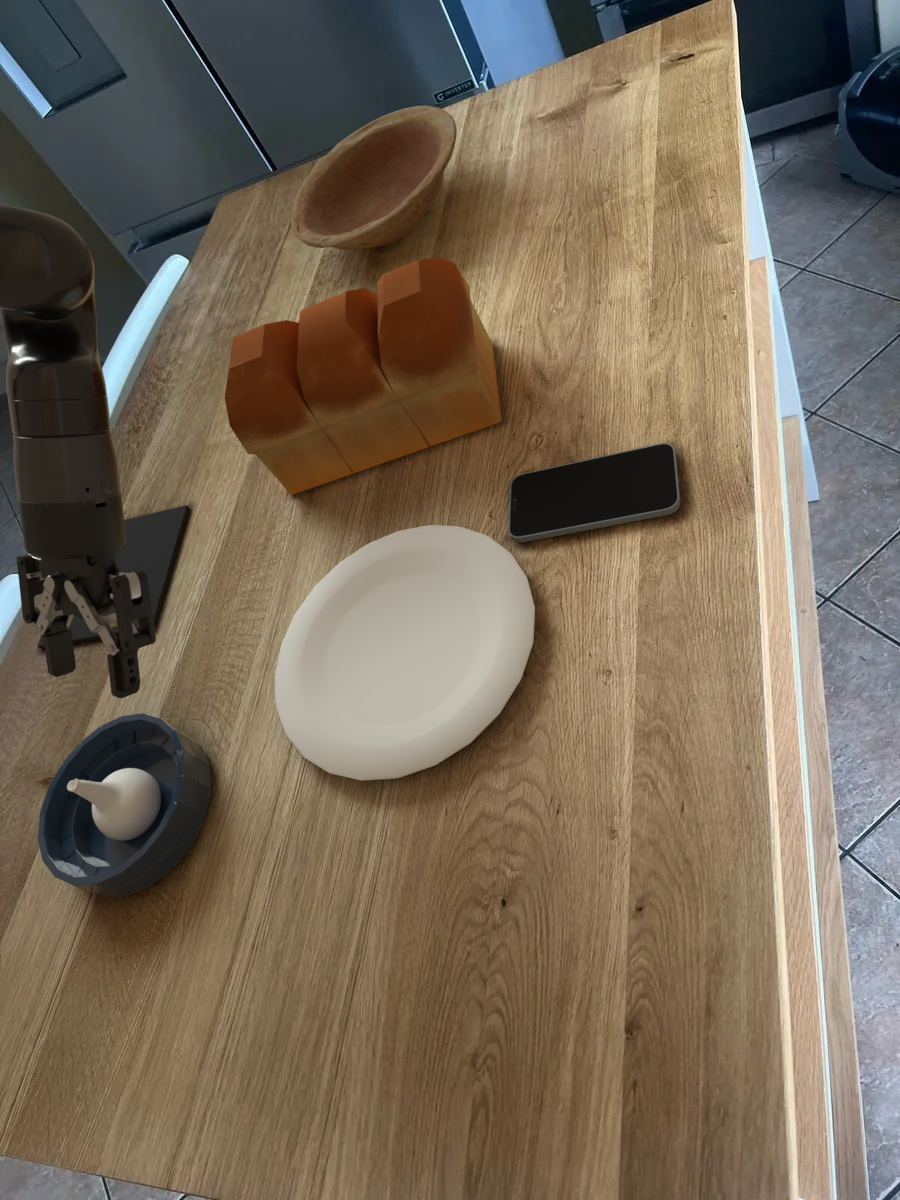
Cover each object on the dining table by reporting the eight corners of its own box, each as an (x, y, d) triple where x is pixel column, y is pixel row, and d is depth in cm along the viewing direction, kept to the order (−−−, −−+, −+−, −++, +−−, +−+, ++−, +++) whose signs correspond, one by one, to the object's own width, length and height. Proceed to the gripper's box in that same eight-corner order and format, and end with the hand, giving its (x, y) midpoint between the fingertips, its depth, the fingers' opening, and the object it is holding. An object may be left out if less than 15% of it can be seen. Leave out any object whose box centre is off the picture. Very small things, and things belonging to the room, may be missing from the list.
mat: (40, 649, 100) (36, 646, 100) (83, 532, 109) (79, 530, 108) (155, 629, 94) (151, 626, 94) (190, 508, 103) (186, 504, 102)
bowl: (334, 190, 128) (305, 139, 122) (490, 138, 118) (466, 80, 112) (298, 305, 116) (264, 255, 110) (468, 258, 106) (441, 200, 100)
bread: (287, 498, 97) (204, 405, 85) (293, 417, 104) (217, 320, 92) (506, 422, 89) (446, 308, 78) (495, 340, 96) (439, 225, 85)
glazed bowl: (53, 901, 81) (15, 887, 77) (101, 741, 89) (69, 722, 85) (192, 896, 75) (157, 881, 71) (231, 725, 83) (201, 705, 79)
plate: (353, 849, 71) (343, 843, 70) (245, 651, 87) (235, 642, 86) (600, 650, 71) (594, 640, 70) (447, 489, 87) (440, 478, 86)
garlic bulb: (177, 779, 81) (117, 744, 75) (152, 847, 78) (88, 817, 72) (126, 774, 84) (64, 741, 78) (100, 840, 81) (33, 811, 75)
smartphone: (679, 507, 74) (508, 540, 80) (682, 514, 75) (511, 546, 80) (673, 440, 78) (510, 475, 84) (675, 446, 79) (513, 481, 84)
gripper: (-27, 489, 72) (2, 680, 76) (83, 507, 64) (108, 718, 68) (58, 477, 78) (81, 655, 82) (168, 492, 70) (186, 687, 74)
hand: (93, 683), depth 75 cm, fingers open, 8 cm apart
